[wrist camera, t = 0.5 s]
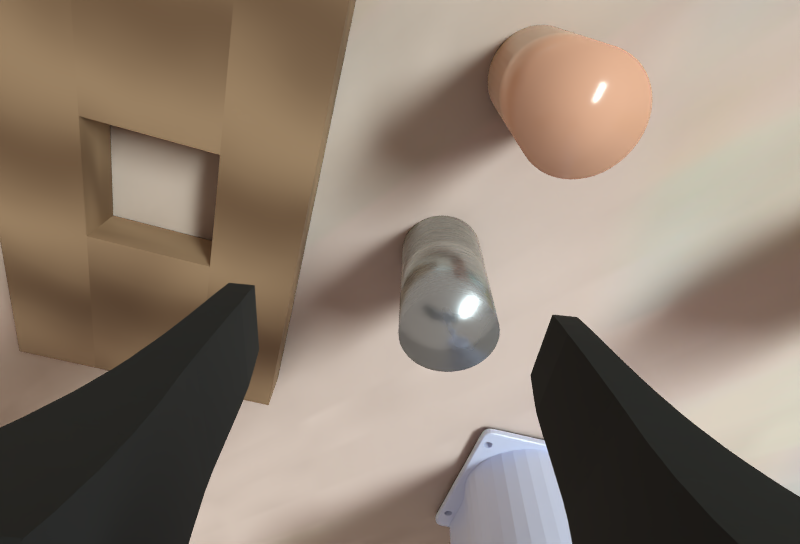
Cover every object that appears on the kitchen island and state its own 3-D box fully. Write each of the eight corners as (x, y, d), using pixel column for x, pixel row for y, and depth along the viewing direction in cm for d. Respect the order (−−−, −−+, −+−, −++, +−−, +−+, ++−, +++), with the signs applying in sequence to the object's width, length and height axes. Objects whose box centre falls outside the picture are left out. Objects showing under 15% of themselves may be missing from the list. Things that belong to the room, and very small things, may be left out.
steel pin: (463, 291, 23) (478, 380, 18) (393, 272, 22) (387, 359, 17) (491, 227, 21) (515, 306, 16) (415, 206, 21) (415, 281, 16)
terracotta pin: (557, 135, 19) (610, 193, 14) (473, 110, 18) (496, 159, 13) (600, 42, 17) (679, 67, 12) (509, 11, 17) (550, 24, 12)
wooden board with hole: (278, 377, 26) (268, 405, 24) (47, 325, 25) (19, 351, 23) (365, -46, 16) (359, -50, 14) (-18, -177, 14) (-77, -198, 13)
